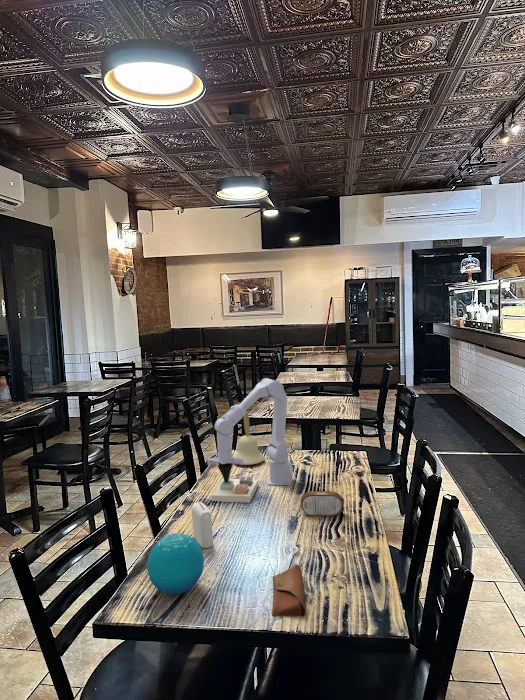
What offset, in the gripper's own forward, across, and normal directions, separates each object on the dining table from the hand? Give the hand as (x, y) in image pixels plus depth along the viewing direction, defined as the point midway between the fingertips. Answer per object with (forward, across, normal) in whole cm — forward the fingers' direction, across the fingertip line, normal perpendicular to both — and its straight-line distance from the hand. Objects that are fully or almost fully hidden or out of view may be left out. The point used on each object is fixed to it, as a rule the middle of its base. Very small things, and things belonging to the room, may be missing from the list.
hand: (226, 481), depth 192 cm
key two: (+3, +7, -4) cm, 9 cm away
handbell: (+5, +1, +37) cm, 37 cm away
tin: (+5, +39, -17) cm, 43 cm away
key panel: (+5, +4, 0) cm, 6 cm away
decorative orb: (+5, +3, -65) cm, 65 cm away
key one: (+3, +7, +4) cm, 9 cm away
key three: (+3, 0, 0) cm, 3 cm away
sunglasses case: (+6, +33, -64) cm, 72 cm away
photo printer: (+5, +2, -39) cm, 39 cm away
